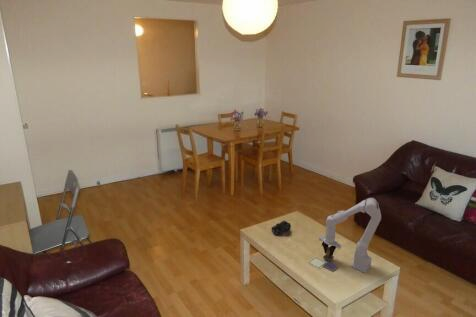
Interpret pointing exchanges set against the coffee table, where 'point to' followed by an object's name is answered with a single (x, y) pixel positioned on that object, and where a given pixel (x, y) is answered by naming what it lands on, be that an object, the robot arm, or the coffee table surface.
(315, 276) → the coffee table surface
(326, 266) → the ink pad
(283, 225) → the crystal cluster
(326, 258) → the stamp
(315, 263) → the sheet
